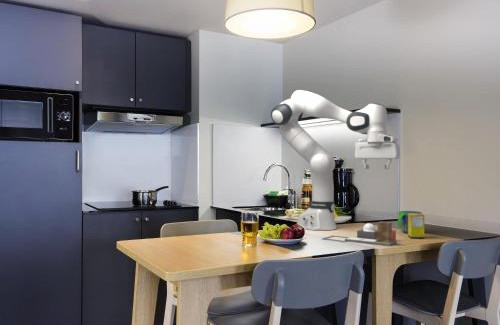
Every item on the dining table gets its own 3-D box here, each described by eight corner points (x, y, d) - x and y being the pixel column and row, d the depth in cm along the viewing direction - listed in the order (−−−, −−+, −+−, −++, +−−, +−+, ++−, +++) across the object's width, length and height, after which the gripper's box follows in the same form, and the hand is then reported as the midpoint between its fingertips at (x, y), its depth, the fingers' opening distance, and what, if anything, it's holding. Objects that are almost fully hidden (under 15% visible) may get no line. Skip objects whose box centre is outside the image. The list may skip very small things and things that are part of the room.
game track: (344, 241, 195) (344, 239, 195) (352, 238, 202) (352, 236, 202) (389, 246, 184) (389, 243, 184) (396, 243, 190) (396, 241, 190)
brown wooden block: (376, 241, 189) (376, 222, 189) (380, 240, 193) (380, 221, 193) (388, 243, 186) (388, 223, 186) (392, 241, 190) (393, 222, 190)
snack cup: (405, 235, 215) (405, 213, 215) (390, 232, 225) (390, 211, 225) (430, 233, 222) (430, 212, 222) (414, 230, 231) (414, 210, 231)
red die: (382, 240, 198) (382, 230, 198) (385, 239, 201) (385, 228, 201) (392, 241, 195) (392, 230, 195) (395, 240, 199) (395, 229, 199)
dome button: (361, 235, 203) (361, 223, 203) (365, 234, 207) (365, 222, 207) (372, 237, 200) (372, 224, 200) (376, 235, 204) (376, 223, 204)
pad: (321, 239, 200) (321, 238, 200) (332, 236, 209) (332, 235, 209) (345, 241, 193) (345, 241, 193) (355, 238, 202) (355, 237, 202)
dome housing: (357, 238, 202) (357, 230, 202) (363, 236, 209) (363, 228, 209) (374, 240, 198) (374, 232, 198) (380, 238, 204) (381, 230, 204)
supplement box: (420, 236, 210) (421, 213, 210) (424, 239, 204) (424, 214, 204) (407, 236, 210) (407, 212, 210) (410, 238, 204) (411, 214, 204)
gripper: (352, 138, 211) (352, 168, 211) (396, 137, 200) (396, 169, 199) (357, 139, 217) (357, 168, 216) (401, 138, 205) (400, 169, 205)
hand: (376, 168), depth 208 cm, fingers open, 8 cm apart
